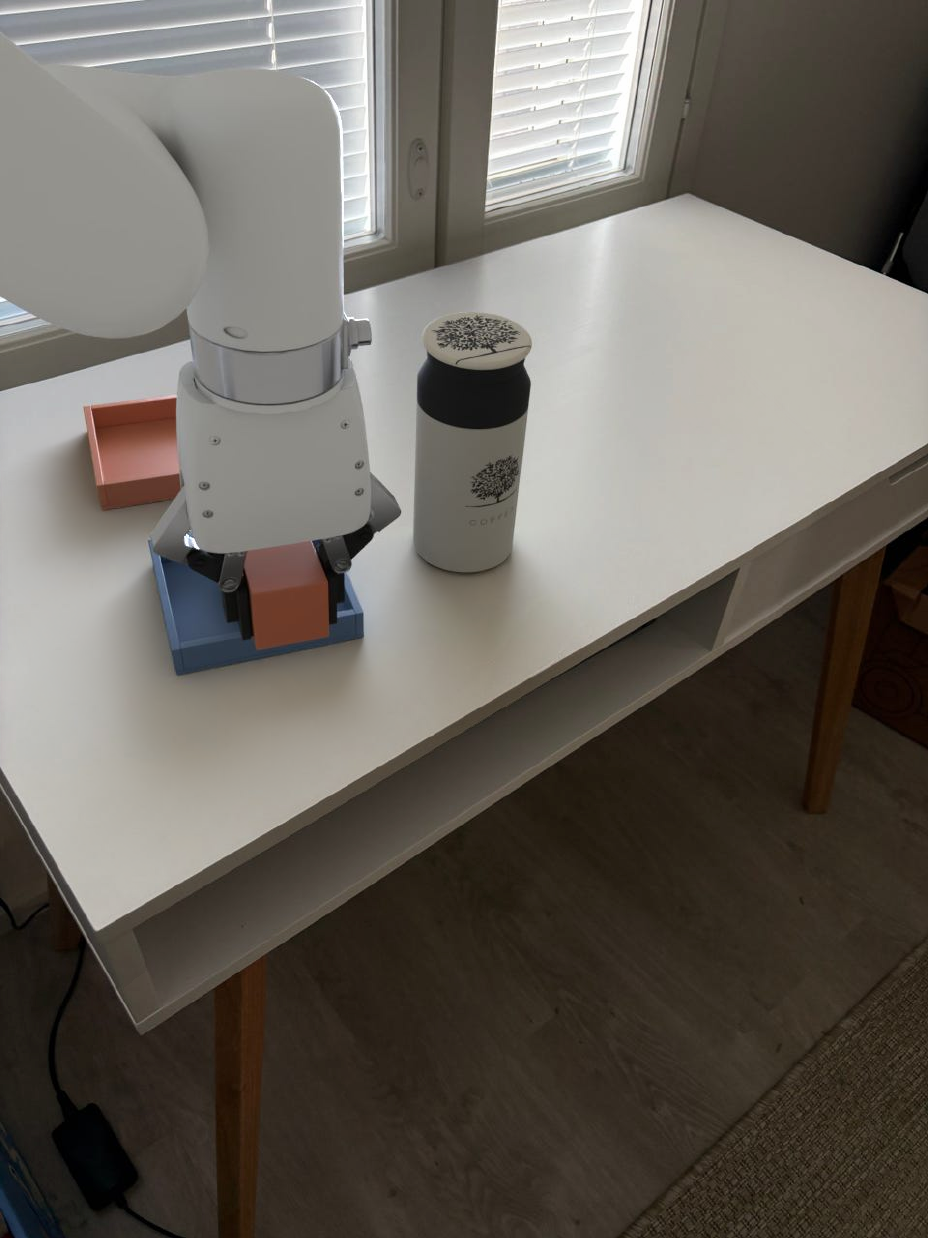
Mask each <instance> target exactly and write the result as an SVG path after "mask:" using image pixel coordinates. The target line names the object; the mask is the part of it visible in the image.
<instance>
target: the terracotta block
mask: <svg viewBox="0 0 928 1238" xmlns="http://www.w3.org/2000/svg"><path fill="white" fill-rule="evenodd" d="M243 572H244V576H245V579H246V582H247V586H248V589H249V593H250V603H251V614H252V625H253V640H254V643H255V646H256V649H257V650H261V649H266V648H271V647H277V646H282V645H287V644H293V643H298V642H304V641H309V640H314V639H320V638H325V637H329V608H328V581H327V578H326V576H325V573H324V571H323V568H322V566H321V563H320V561H319V558H318V555H317V553H316V550H315V548H314V545H313V543H312V541H307V542H301V543H295V544H288V545H282V546H276V547H269V548H262V549H256V550H248V551H247V555H246V559H245V564H244V569H243Z"/></svg>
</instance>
